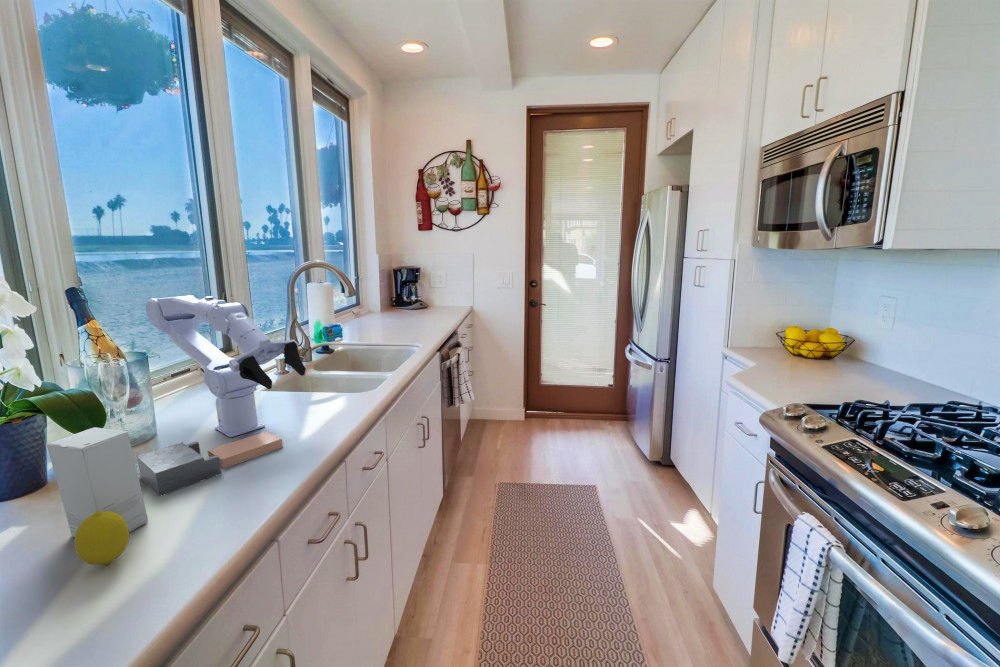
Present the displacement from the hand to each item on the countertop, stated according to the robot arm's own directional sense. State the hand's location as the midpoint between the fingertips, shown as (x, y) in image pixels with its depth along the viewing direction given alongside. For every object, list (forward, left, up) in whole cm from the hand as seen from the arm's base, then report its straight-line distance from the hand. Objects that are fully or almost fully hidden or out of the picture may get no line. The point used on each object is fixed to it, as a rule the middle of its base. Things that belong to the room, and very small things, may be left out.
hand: (287, 378), depth 96 cm
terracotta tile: (-5, -8, -16) cm, 18 cm away
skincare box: (+6, -33, -16) cm, 37 cm away
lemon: (+16, -35, -15) cm, 42 cm away
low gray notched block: (-5, -19, -15) cm, 25 cm away
